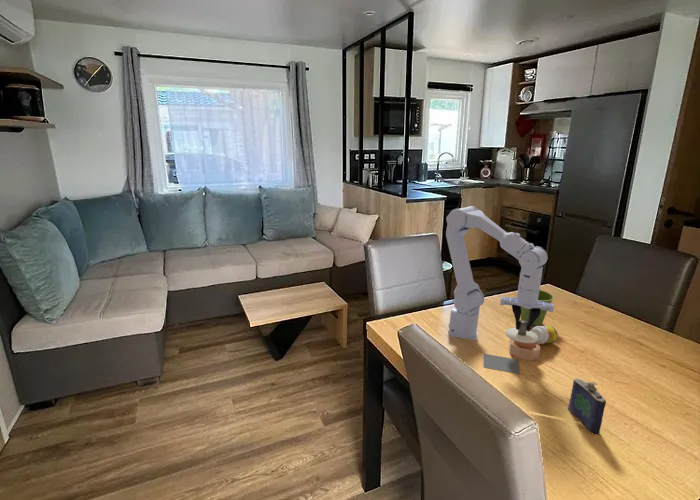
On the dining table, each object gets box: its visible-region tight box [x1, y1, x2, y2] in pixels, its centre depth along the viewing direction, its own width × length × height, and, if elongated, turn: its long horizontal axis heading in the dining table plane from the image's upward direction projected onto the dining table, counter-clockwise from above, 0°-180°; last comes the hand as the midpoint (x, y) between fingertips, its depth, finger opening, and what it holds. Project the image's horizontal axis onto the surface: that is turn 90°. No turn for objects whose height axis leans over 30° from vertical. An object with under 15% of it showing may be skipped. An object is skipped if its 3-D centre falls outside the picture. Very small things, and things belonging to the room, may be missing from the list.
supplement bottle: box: [530, 325, 559, 345], centre depth 125 cm, size 6×6×10 cm
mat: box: [483, 353, 521, 375], centre depth 115 cm, size 10×8×1 cm
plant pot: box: [520, 289, 555, 327], centre depth 141 cm, size 12×12×11 cm
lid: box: [505, 319, 538, 343], centre depth 117 cm, size 9×9×5 cm
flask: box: [567, 378, 607, 435], centre depth 91 cm, size 9×3×11 cm, turn 8°
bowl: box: [508, 338, 541, 361], centre depth 121 cm, size 8×8×4 cm
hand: (522, 329), depth 117 cm, fingers closed on lid, 2 cm apart
